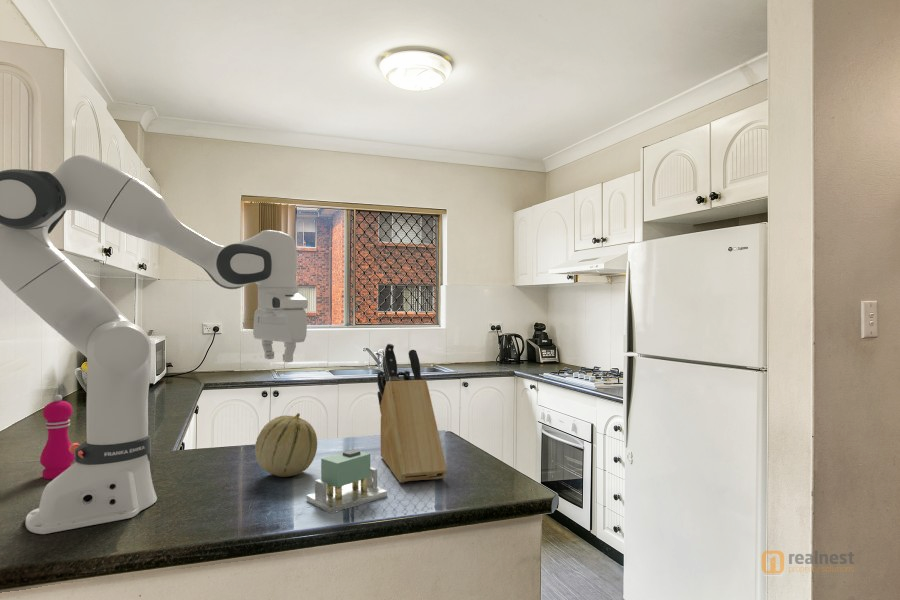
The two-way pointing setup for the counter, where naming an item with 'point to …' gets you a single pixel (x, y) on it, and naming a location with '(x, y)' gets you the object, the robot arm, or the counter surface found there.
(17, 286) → the robot arm
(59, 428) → the pepper mill
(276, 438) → the cantaloupe
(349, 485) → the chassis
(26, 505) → the counter surface
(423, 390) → the knife block
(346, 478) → the green box
